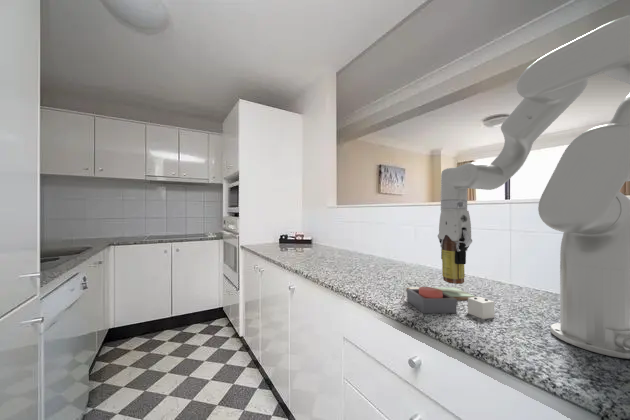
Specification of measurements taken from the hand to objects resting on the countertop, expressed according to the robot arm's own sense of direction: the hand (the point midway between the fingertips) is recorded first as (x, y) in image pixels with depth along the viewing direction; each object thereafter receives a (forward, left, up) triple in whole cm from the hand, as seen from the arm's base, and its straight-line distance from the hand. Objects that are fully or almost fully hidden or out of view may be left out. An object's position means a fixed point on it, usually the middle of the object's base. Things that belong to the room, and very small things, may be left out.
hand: (452, 261), depth 79 cm
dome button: (-10, +13, -9) cm, 19 cm away
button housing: (-10, +13, -11) cm, 20 cm away
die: (-16, +3, -11) cm, 20 cm away
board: (0, +4, -11) cm, 12 cm away
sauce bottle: (0, 0, -7) cm, 7 cm away
